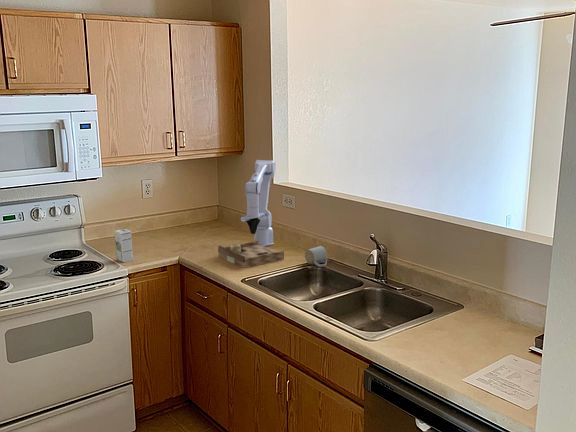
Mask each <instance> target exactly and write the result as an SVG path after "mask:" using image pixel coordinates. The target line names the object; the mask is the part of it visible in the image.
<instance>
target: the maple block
mask: <svg viewBox="0 0 576 432" xmlns="http://www.w3.org/2000/svg"><path fill="white" fill-rule="evenodd" d="M240 244H241V243H231V244H229V247H230V250H232V251H234V252H236V253H239V254H241V246H240Z"/></svg>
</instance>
